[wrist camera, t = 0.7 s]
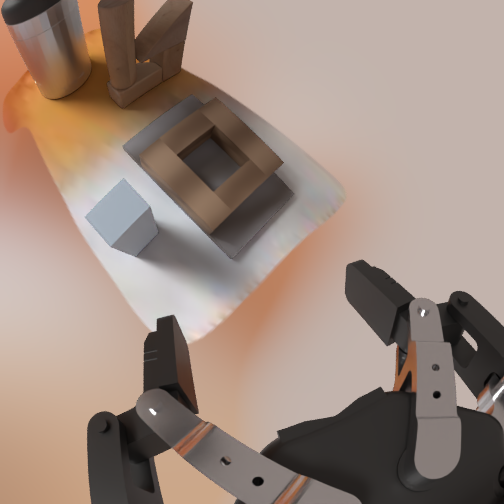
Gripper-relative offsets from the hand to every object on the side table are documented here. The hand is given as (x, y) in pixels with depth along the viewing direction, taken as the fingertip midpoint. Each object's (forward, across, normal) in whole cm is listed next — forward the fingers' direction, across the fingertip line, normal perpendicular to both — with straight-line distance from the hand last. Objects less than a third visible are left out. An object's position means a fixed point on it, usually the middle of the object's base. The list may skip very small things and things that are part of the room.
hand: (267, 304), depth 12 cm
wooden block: (+33, +5, -16) cm, 37 cm away
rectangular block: (+22, +9, +4) cm, 24 cm away
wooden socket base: (+26, -1, -1) cm, 26 cm away
